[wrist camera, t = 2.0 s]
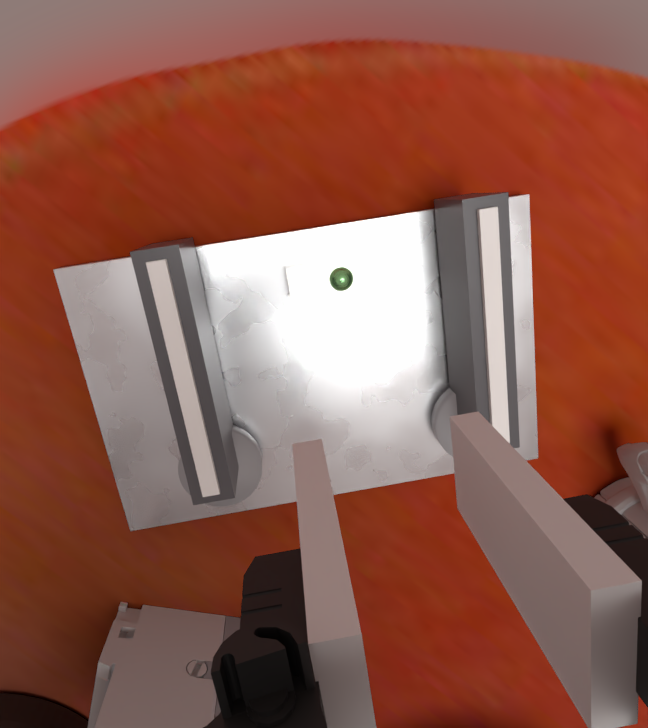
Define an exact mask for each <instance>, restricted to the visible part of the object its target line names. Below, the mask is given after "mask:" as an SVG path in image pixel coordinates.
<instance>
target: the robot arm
mask: <svg viewBox="0 0 648 728" xmlns="http://www.w3.org/2000/svg"><path fill="white" fill-rule="evenodd" d="M450 426H451V437H452V449H453V461H454V472H455V484H456V496H457V507H458V510H459V512H460V513H461V515H462V517H463V518H464V520H465V522H466V523H467V525H468V527H469V528H470V530H471V532H472V534H473V535H474V537H475V539H476V540H477V542H478V544H479V545H480V547H481V549H482V550H483V552H484V554H485V555H486V557H487V559H488V560H489V562H490V564H491V565H492V567H493V569H494V570H495V572H496V574H497V575H498V577H499V579H500V581H501V582H502V584H503V586H504V587H505V589H506V591H507V592H508V594H509V596H510V597H511V599H512V601H513V602H514V604H515V606H516V607H517V609H518V611H519V612H520V614H521V616H522V617H523V619H524V621H525V622H526V624H527V626H528V627H529V629H530V631H531V633H532V634H533V636H534V638H535V639H536V641H537V643H538V644H539V646H540V648H541V649H542V651H543V653H544V654H545V656H546V658H547V659H548V661H549V663H550V664H551V666H552V668H553V669H554V671H555V673H556V674H557V676H558V678H559V680H560V681H561V683H562V685H563V686H564V688H565V690H566V691H567V693H568V695H569V696H570V698H571V700H572V701H573V703H574V705H575V706H576V708H577V710H578V711H579V713H580V715H581V716H582V718H583V720H584V721H585V723H586V725H587V727H588V728H617V727H622V726H627V725H632V724H637V723H638V695H639V696H640V698H641V699H642V700H643V702H644V703H645V704H646V706H647V707H648V539H647V538H644V537H643V534H642V533H640V532H639V531H638V530H637V529H636V528H635V527H634V526H633V525H629V522H628V521H627V520H626V519H625V518H624V517H623V516H622V515H621V514H620V513H618V512H617V511H616V510H615V509H614V508H613V507H612V506H610V505H608V504H606V503H604V502H602V501H600V500H598V499H595V498H593V497H591V496H589V495H582V496H577V497H571V498H566V499H562V498H561V496H560V495H559V494H558V493H557V492H556V491H555V490H554V489H553V488H552V487H551V486H550V485H549V484H548V483H547V482H546V481H545V480H544V479H543V478H542V477H541V476H540V475H539V474H538V473H537V472H536V471H535V470H534V468H533V467H532V466H531V465H530V464H529V463H528V462H527V461H526V460H525V459H524V458H523V457H522V456H521V455H520V454H519V453H518V452H517V451H516V450H515V449H514V448H513V447H512V446H511V445H510V444H509V443H508V442H507V441H506V439H505V438H504V437H503V436H502V435H501V434H500V433H499V432H498V431H497V430H496V429H495V428H494V427H493V426H492V425H491V424H490V423H489V422H488V421H487V420H486V419H485V418H484V417H483V416H482V415H481V414H480V413H479V411H478V412H472V413H467V414H461V415H455V416H450ZM292 448H293V460H294V473H295V485H296V498H297V510H298V523H299V535H300V548H301V549H296V550H290V551H285V552H279V553H274V554H268V555H263V556H258V557H255V558H254V560H253V561H252V563H251V565H250V566H249V568H248V570H247V571H246V573H245V574H244V580H243V593H242V596H243V599H242V606H241V615H242V616H241V619H240V629H239V630H237V631H235V632H234V633H233V634H232V635H231V636H229V637H228V638H227V639H226V640H225V641H224V642H222V644H221V645H220V647H219V649H218V650H217V652H216V653H215V655H214V657H213V661H212V667H211V676H212V680H213V684H214V687H215V691H216V695H217V698H218V702H219V706H220V710H221V712H220V714H219V715H218V716H217V717H215V718H214V719H213V720H212V721H211V722H210V723H209V724H208V725H207V726H205V727H203V728H376V723H375V716H374V710H373V704H372V697H371V691H370V685H369V678H368V672H367V666H366V659H365V653H364V647H363V640H362V634H361V629H360V624H359V619H358V614H357V610H356V605H355V600H354V595H353V590H352V585H351V580H350V575H349V570H348V565H347V561H346V556H345V551H344V546H343V541H342V536H341V531H340V526H339V521H338V516H337V512H336V507H335V502H334V497H333V492H332V487H331V482H330V477H329V472H328V467H327V462H326V458H325V453H324V448H323V443H322V439H318V440H312V441H306V442H300V443H295V444H292ZM87 727H88V721H87V720H85V719H84V718H82V717H81V716H79V715H78V714H76V713H74V712H72V711H70V710H68V709H67V708H64V707H62V706H60V705H57V704H55V703H52V702H49V701H46V700H43V699H39V698H35V697H30V696H25V695H17V694H6V693H0V728H87Z"/></svg>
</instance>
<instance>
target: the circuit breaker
mask: <svg viewBox="0 0 648 728" xmlns="http://www.w3.org/2000/svg"><path fill="white" fill-rule="evenodd" d="M127 606H128V603H127V602H121V603H120V605H119V610H118V613H117V616H116V619H115V620H114V621H113V624H112V627H111V629H110V632H109V635H108V637H107V640H106V643H105V645H104V648H103V651H102V653H101V656H100V659H99V661H98V667H97V673H96V679H95V685H94V691H93V697H92V703H91V709H90V715H89V721H88V727H87V728H203V727H205V726H207V725H208V724H209V723H210V722H211V721H212V720H213V719H214V718H215V717H217V716H218V715H219V714H220V712H221V710H220V706H219V702H218V698H217V695H216V691H215V687H214V684H213V680H212V676H211V667H212V661H213V657H214V655H215V653H216V652H217V650H218V649H219V647H220V645H221V644H222V642H224V641H225V640H226V639H227V638H228V637H229V636H231V635H232V634H233V633H234V632H235V631H237V630H239V629H240V619H241V618H238V617H231V616H224V615H216V614H209V613H201V612H194V611H186V610H179V609H172V608H164V607H157V606H149V605H143V606H142V609H141V610H140V609H133V608H127ZM225 617H226V619H225Z"/></svg>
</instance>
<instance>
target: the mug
mask: <svg viewBox="0 0 648 728" xmlns="http://www.w3.org/2000/svg"><path fill="white" fill-rule="evenodd" d="M617 454H618V457H619V460H620V462H621V464H622V466H623V467H624V469H625V471H626V472H627V474H628V476H629V477H627V478H623V479H620V480H618V481H616V482H614V483H612V484H610V485H609V486H607V487H606V488H604V489H602V490H601V491H600V494H601V495H599V494H597V495H596V496H595V497H594V498H595V499H598V500H600V501H602V502H604V503H606V504H608V505H610V506H612V507H613V508H614V509H615V510H616V511H617V512H618V513H620V514H621V515H622V516H623V517H624V518H625V519H626V520H627V521H628V522H629V525H633V526H634V527H635V528H636V529H637V530H638V531H639V532H640V533H642V534H643V537H644V538H647V539H648V443H646V442H641V443H634V444H629V443H627V444H624V445H622V446H620V447H618V448H617Z"/></svg>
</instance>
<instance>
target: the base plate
mask: <svg viewBox="0 0 648 728" xmlns="http://www.w3.org/2000/svg"><path fill="white" fill-rule="evenodd" d="M509 218H510V241H511V263H512V285H513V307H514V329H515V352H516V374H517V396H518V418H519V440H520V447H519V448H514V449H515V450H516V451H517V452H518V453H519V454H520V455H521V456H522V457H523V458H524V459H525V460H531V459H537V458H538V437H537V408H536V379H535V349H534V320H533V291H532V262H531V232H530V203H529V194H521V195H514V196H509ZM195 250H196V255H197V260H198V264H199V269H200V274H201V278H202V283H203V287H204V292H205V297H206V301H207V306H208V311H209V315H210V320H211V325H212V329H213V334H214V339H215V343H216V348H217V353H218V357H219V362H220V367H221V371H222V376H223V381H224V385H225V390H226V394H227V399H228V404H229V408H230V413H231V418H232V422H233V425H234V426H237V427H240V428H242V429H243V430H245V431H247V432H248V433H249V434H250V435H251V436H252V437H253V438H254V439H255V440H256V442H257V443H258V445H259V447H260V450H261V453H262V474H261V479H260V482H259V484H258V486H257V488H256V489H255V491H254V492H253V493H252V494H251V495H250V496H249V497H248V498H246V499H245V500H243V501H241V502H239V503H237V504H234V505H230V506H224V507H217V506H210V505H206V504H199V505H193V503H192V499H191V496H190V495H189V494H188V493H187V492H186V490H185V489H184V488H183V486H182V484H181V482H180V479H179V475H178V463H179V459H180V456H181V455H180V451H179V447H178V443H177V439H176V435H175V431H174V427H173V423H172V419H171V415H170V411H169V407H168V403H167V399H166V395H165V391H164V387H163V383H162V379H161V375H160V371H159V367H158V363H157V359H156V355H155V351H154V347H153V343H152V339H151V335H150V331H149V327H148V323H147V319H146V315H145V311H144V307H143V303H142V299H141V295H140V291H139V287H138V283H137V279H136V275H135V271H134V267H133V263H132V259H131V256H128V257H122V258H116V259H109V260H103V261H97V262H90V263H84V264H78V265H71V266H65V267H60V268H57V269H54V274H55V277H56V280H57V284H58V287H59V291H60V294H61V297H62V301H63V304H64V308H65V311H66V314H67V318H68V321H69V325H70V328H71V331H72V335H73V338H74V342H75V345H76V348H77V352H78V355H79V359H80V362H81V365H82V369H83V372H84V376H85V379H86V382H87V386H88V389H89V392H90V396H91V399H92V403H93V406H94V409H95V413H96V416H97V420H98V423H99V426H100V430H101V433H102V437H103V440H104V443H105V447H106V450H107V454H108V457H109V460H110V464H111V467H112V471H113V474H114V477H115V481H116V484H117V488H118V491H119V494H120V498H121V501H122V504H123V508H124V511H125V515H126V518H127V521H128V525H129V528H130V531H134V530H140V529H145V528H151V527H157V526H162V525H168V524H173V523H179V522H185V521H190V520H196V519H201V518H207V517H213V516H218V515H224V514H229V513H235V512H241V511H246V510H252V509H257V508H263V507H268V506H274V505H280V504H285V503H291V502H296V501H297V498H296V485H295V473H294V460H293V448H292V444H295V443H300V442H306V441H312V440H318V439H322V443H323V448H324V453H325V458H326V462H327V467H328V472H329V477H330V482H331V487H332V492H333V495H336V494H341V493H347V492H352V491H358V490H363V489H369V488H375V487H380V486H386V485H391V484H397V483H403V482H408V481H414V480H419V479H425V478H431V477H436V476H442V475H447V474H453V473H455V472H454V461H453V457H452V456H451V455H449V454H448V453H447V452H446V451H445V450H444V449H443V447H442V446H441V444H440V443H439V441H438V440H437V438H436V437H435V435H434V433H433V430H432V424H431V418H432V412H433V409H434V406H435V404H436V402H437V400H438V399H439V398H440V396H441V395H442V394H443V393H444V392H445V391H446V390H447V389H449V388H450V387H449V375H448V363H447V351H446V339H445V327H444V315H443V304H442V292H441V280H440V268H439V256H438V244H437V232H436V221H435V209H434V208H432V209H426V210H419V211H413V212H407V213H400V214H394V215H388V216H381V217H375V218H369V219H362V220H356V221H350V222H343V223H337V224H331V225H324V226H318V227H312V228H305V229H299V230H293V231H286V232H280V233H274V234H268V235H261V236H255V237H249V238H242V239H236V240H230V241H223V242H217V243H211V244H204V245H198V246H195Z"/></svg>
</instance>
